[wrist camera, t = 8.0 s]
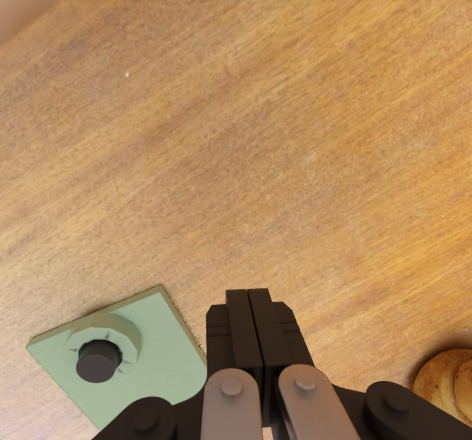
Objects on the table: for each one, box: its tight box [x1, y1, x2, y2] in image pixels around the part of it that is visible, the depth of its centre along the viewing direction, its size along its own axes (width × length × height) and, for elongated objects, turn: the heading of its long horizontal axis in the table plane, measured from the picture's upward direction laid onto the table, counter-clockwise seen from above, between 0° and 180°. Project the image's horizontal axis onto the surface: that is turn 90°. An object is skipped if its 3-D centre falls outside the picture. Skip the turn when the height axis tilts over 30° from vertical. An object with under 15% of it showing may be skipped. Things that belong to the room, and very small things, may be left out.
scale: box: [25, 285, 207, 431], centre depth 30 cm, size 16×13×3 cm
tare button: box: [76, 339, 120, 383], centre depth 27 cm, size 3×3×2 cm
